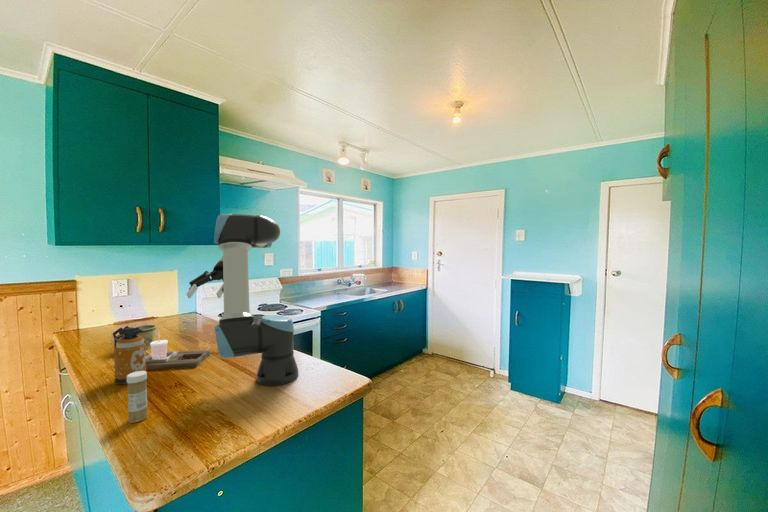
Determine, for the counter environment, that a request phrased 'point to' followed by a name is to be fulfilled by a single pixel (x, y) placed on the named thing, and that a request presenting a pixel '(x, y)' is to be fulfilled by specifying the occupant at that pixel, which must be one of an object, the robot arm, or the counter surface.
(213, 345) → the counter surface
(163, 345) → the beverage cup
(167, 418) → the counter surface
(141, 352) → the canister
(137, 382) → the sprinkles bottle
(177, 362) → the divided serving tray
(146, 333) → the ceramic cup
